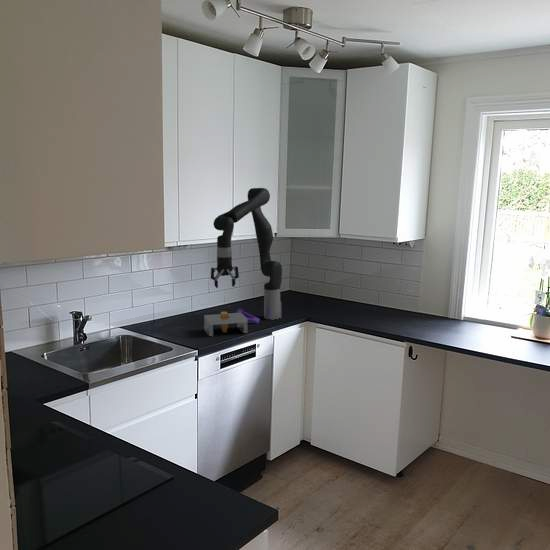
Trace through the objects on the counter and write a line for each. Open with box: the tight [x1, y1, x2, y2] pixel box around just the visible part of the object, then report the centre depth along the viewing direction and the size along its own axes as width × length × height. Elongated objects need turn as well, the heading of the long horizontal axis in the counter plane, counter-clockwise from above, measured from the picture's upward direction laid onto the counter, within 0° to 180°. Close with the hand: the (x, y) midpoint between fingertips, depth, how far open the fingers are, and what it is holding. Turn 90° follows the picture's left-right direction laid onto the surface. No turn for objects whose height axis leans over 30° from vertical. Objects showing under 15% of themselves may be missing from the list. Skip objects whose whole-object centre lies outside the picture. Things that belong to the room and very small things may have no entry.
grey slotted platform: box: [203, 312, 249, 337], centre depth 289 cm, size 20×14×8 cm
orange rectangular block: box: [220, 311, 229, 333], centre depth 290 cm, size 3×4×10 cm, turn 17°
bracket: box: [235, 308, 261, 324], centre depth 310 cm, size 12×7×7 cm, turn 79°
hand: (224, 286), depth 286 cm, fingers open, 8 cm apart
